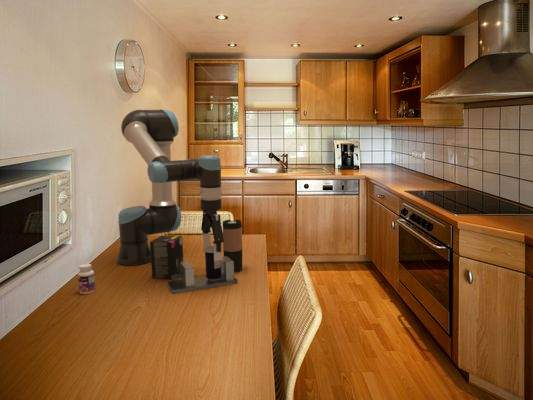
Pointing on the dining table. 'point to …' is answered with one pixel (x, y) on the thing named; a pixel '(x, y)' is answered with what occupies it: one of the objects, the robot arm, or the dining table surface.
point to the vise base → (203, 282)
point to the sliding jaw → (185, 274)
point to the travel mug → (233, 242)
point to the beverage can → (212, 265)
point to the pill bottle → (86, 279)
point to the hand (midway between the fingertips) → (212, 255)
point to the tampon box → (166, 256)
